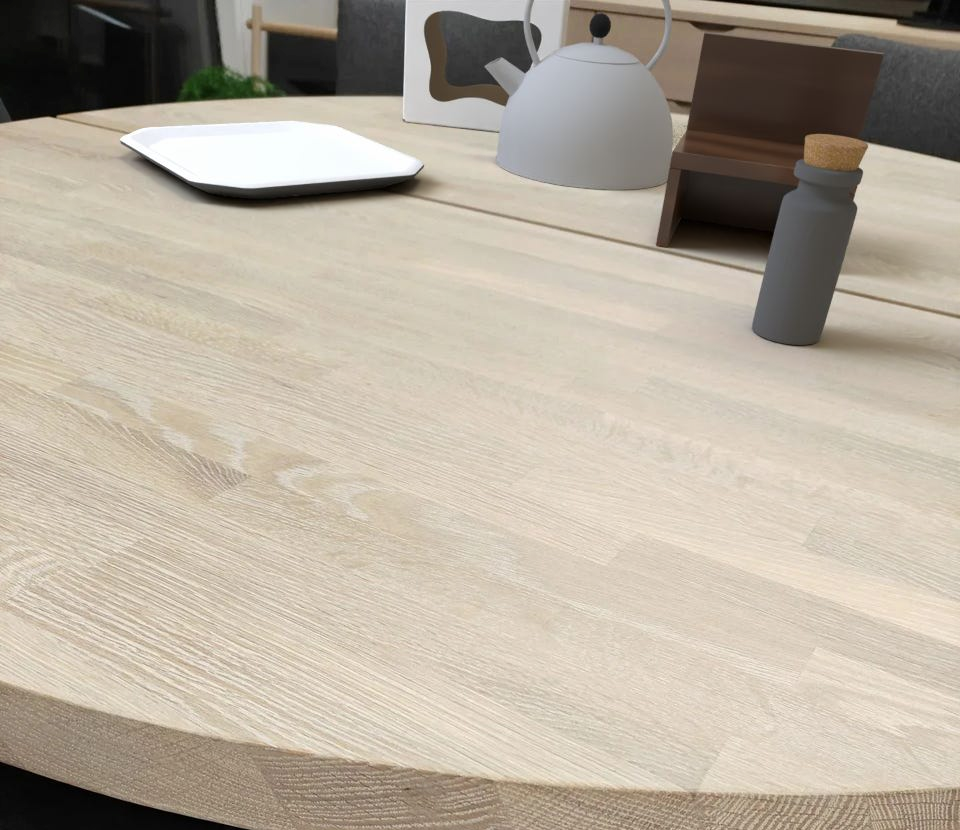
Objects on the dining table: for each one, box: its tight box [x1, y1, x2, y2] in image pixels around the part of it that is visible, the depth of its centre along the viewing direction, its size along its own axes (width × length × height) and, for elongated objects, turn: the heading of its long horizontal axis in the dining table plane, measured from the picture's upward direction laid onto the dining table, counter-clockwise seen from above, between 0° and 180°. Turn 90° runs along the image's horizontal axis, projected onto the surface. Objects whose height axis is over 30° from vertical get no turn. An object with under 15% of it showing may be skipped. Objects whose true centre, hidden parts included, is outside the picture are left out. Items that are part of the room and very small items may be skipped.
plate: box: [119, 120, 425, 200], centre depth 116 cm, size 29×29×2 cm
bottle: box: [751, 134, 869, 346], centre depth 80 cm, size 6×6×15 cm
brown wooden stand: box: [655, 31, 885, 248], centre depth 102 cm, size 14×18×18 cm
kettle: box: [484, 0, 674, 191], centre depth 123 cm, size 25×23×22 cm
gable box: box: [402, 0, 571, 133], centre depth 141 cm, size 22×13×28 cm, turn 82°
